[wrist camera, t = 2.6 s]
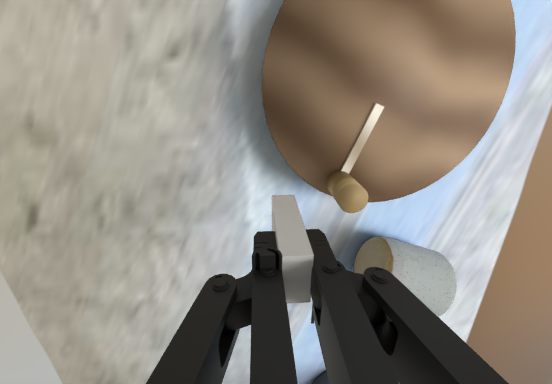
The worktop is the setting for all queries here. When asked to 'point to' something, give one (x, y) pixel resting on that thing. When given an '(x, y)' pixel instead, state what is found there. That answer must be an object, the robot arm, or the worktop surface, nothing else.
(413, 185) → the disc
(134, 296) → the worktop surface
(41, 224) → the worktop surface
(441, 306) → the ceramic mug
